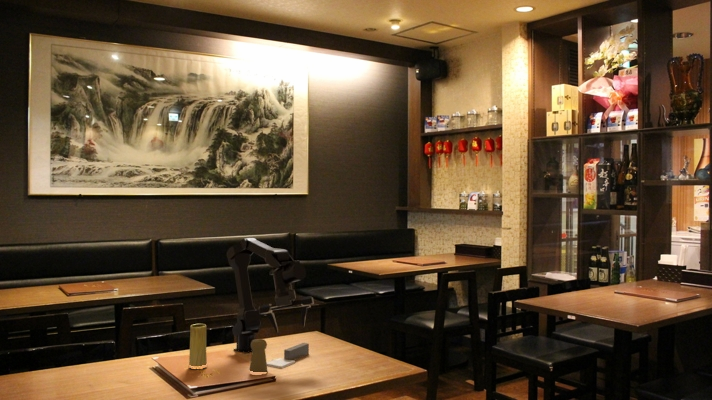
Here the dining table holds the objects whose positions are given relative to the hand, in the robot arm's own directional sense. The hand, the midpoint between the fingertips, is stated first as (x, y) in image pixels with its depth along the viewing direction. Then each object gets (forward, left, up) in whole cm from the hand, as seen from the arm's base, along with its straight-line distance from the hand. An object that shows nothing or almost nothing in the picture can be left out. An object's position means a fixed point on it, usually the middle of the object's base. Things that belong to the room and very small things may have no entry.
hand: (290, 330), depth 205 cm
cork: (-4, -13, -12) cm, 18 cm away
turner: (-4, +5, -12) cm, 14 cm away
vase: (-25, -19, -12) cm, 33 cm away
